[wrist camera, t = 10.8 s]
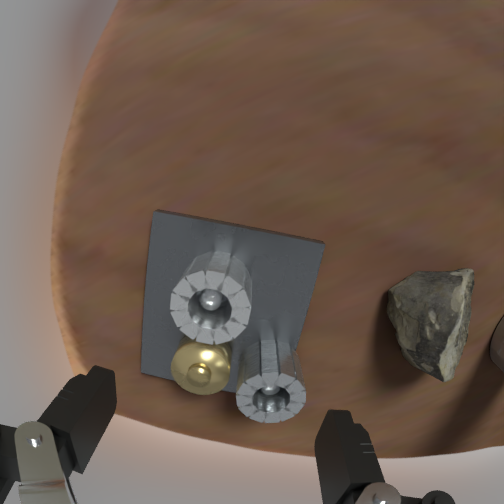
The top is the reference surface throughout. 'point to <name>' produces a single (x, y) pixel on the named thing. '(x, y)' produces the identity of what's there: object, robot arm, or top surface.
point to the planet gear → (230, 310)
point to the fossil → (432, 319)
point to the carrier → (223, 297)
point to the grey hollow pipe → (270, 382)
